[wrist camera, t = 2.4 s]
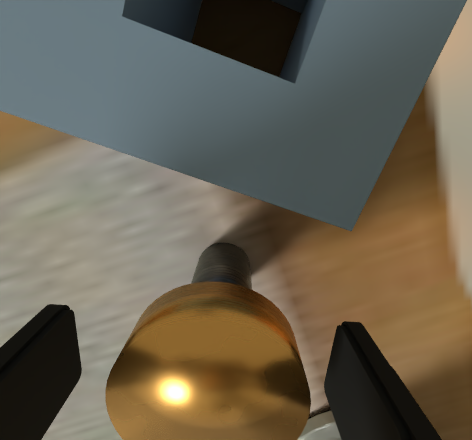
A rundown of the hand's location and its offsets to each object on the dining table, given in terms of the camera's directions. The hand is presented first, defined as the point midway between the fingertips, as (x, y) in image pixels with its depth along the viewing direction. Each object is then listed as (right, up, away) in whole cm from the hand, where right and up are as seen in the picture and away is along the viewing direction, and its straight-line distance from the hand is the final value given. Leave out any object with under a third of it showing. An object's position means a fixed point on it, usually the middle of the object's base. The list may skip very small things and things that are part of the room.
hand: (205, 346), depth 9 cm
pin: (0, +2, +7) cm, 7 cm away
